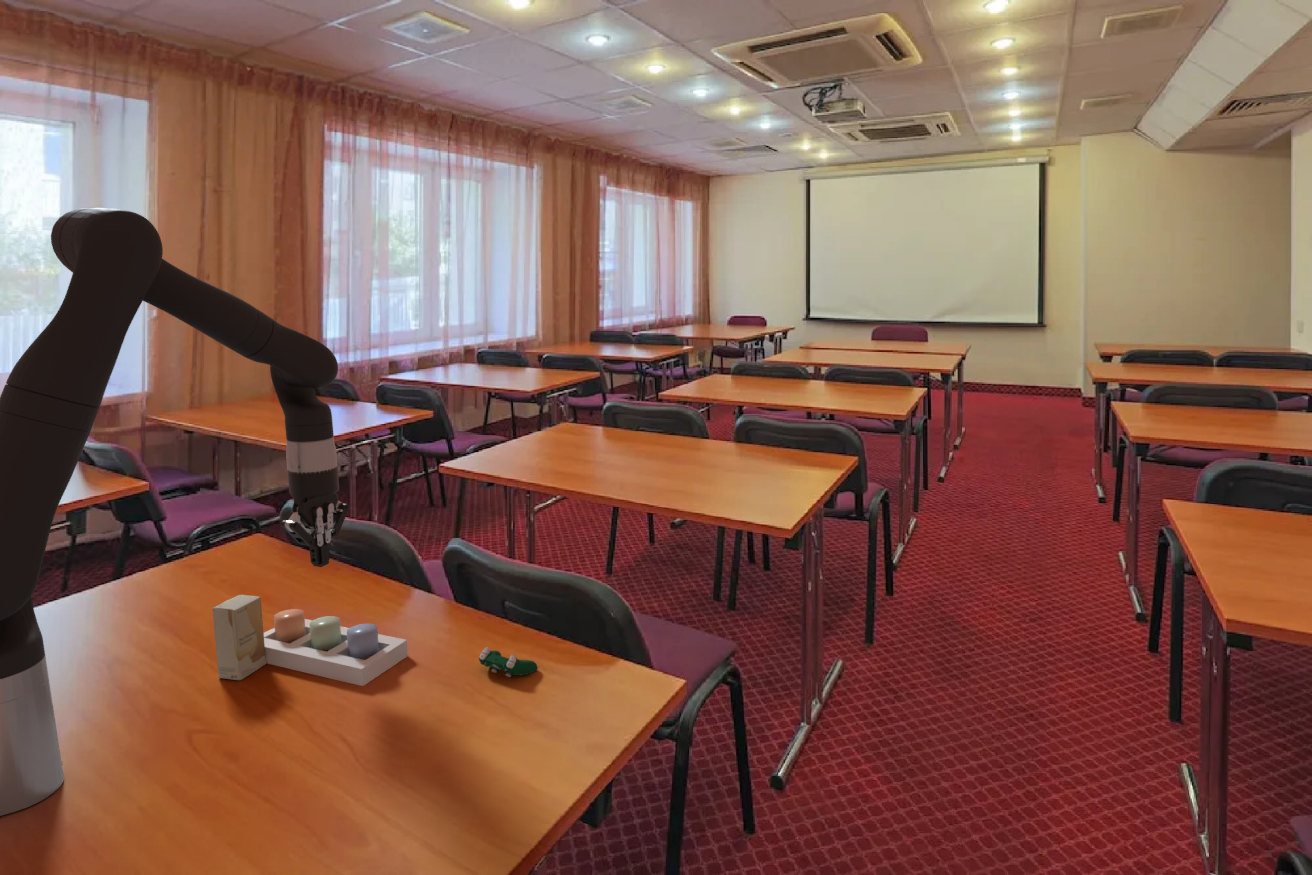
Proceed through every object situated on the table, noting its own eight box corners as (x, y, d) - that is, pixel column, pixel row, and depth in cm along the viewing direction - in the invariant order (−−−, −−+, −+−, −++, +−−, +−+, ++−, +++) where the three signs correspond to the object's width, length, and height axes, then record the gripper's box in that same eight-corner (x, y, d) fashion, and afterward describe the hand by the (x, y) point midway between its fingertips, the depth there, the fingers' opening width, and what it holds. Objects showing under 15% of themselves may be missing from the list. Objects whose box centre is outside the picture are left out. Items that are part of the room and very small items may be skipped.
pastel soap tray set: (362, 686, 120) (361, 668, 119) (246, 658, 128) (244, 642, 128) (407, 655, 130) (406, 639, 129) (297, 632, 138) (295, 616, 138)
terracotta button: (290, 644, 128) (288, 622, 128) (269, 639, 130) (267, 617, 129) (312, 632, 133) (310, 611, 132) (291, 628, 134) (289, 607, 134)
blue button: (365, 660, 123) (363, 638, 122) (341, 655, 125) (340, 633, 124) (385, 648, 127) (383, 626, 127) (362, 643, 129) (361, 621, 128)
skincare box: (240, 681, 121) (233, 610, 118) (217, 678, 122) (209, 608, 119) (268, 663, 127) (262, 595, 125) (246, 660, 128) (239, 592, 125)
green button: (326, 652, 126) (325, 630, 125) (304, 647, 127) (302, 625, 126) (347, 640, 130) (346, 618, 129) (326, 635, 132) (324, 614, 131)
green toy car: (488, 673, 128) (470, 661, 124) (497, 652, 130) (480, 639, 125) (531, 686, 124) (514, 674, 119) (540, 664, 126) (524, 652, 121)
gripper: (298, 476, 115) (307, 582, 119) (359, 458, 127) (366, 555, 131) (261, 472, 118) (271, 575, 121) (325, 455, 130) (332, 550, 133)
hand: (321, 565), depth 126 cm, fingers closed
